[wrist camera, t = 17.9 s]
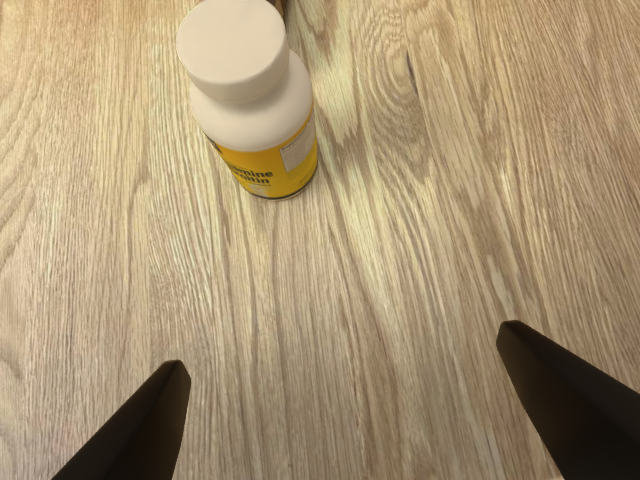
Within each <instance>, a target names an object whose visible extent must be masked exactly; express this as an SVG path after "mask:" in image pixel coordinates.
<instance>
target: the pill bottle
mask: <svg viewBox="0 0 640 480" xmlns="http://www.w3.org/2000/svg"><path fill="white" fill-rule="evenodd" d="M176 50H177V53H178V57H179V59H180V61H181V63H182V65H183V67H184V69H185V70H186V72H187V74H188V76H189V77H190V79H191V83H190V90H189V99H190V106H191V110H192V113H193V115H194V118H195V120H196V121H197V123H198V125H199V126H200V128H201V129H202V131H203V132H204V134H205V135H206V136H207V138H208V139H209V141H210V142H211V143H212V145H213V146H214V147H215V149H216V150H217V152H218V153H219V154H220V156H221V157H222V159H223V160H224V161H225V163H226V164H227V166H228V167H229V169H230V170H231V172H232V173H233V174H234V176H235V177H236V179H237V180H238V181H239V183H240V184H241V185H242V186H243V188H244V189H245V190H247V191H248V192H249V193H251V194H252V195H254V196H256V197H258V198H261V199H265V200H272V201H277V200H284V199H288V198H291V197H293V196H295V195H297V194H298V193H300V192H301V191H303V190H304V189H305V188H306V187H307V186H308V185H309V183H310V182H311V181H312V179H313V177H314V175H315V172H316V169H317V164H318V151H317V140H316V127H315V115H314V103H313V92H312V84H311V80H310V77H309V74H308V71H307V69H306V67H305V65H304V63H303V62H302V61H301V59H300V58H299V57H298V56H297V54H296V53H295V52H294V51H293V50H291V49H290V48H289V43H288V39H287V34H286V29H285V25H284V22H283V19H282V17H281V15H280V14H279V12H278V11H277V10H276V8H275V7H274V6H273V5H272V4H270V3H269V2H268V1H266V0H204V1H202V2H200V3H199V4H198V5H196V6H195V7H194V8H193V9H192V10H191V11H190V12H188V14H187V15H186V16H185V18H184V19H183V20H182V22H181V24H180V26H179V29H178V32H177V36H176Z"/></svg>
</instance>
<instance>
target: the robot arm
mask: <svg viewBox="0 0 640 480" xmlns="http://www.w3.org/2000/svg"><path fill="white" fill-rule="evenodd" d="M496 346H497V350H498V352H499V354H500V356H501V359H502V361H503V363H504V365H505V368H506V370H507V372H508V375H509V377H510V379H511V381H512V384H513V386H514V388H515V390H516V393H517V395H518V397H519V399H520V401H521V403H522V405H523V407H524V409H525V411H526V413H527V414H528V416H529V418H530V420H531V421H532V423H533V425H534V427H535V428H536V430H537V432H538V434H539V436H540V437H541V439H542V441H543V443H544V444H545V446H546V448H547V450H548V451H549V453H550V455H551V457H552V458H553V460H554V462H555V464H556V465H557V467H558V469H559V471H560V473H561V474H562V476H563V478H564V479H565V480H640V394H639V393H637V392H635V391H634V390H632V389H630V388H629V387H627V386H626V385H624V384H622V383H621V382H619V381H617V380H616V379H614V378H613V377H611V376H609V375H608V374H606V373H604V372H603V371H601V370H599V369H598V368H596V367H595V366H593V365H591V364H590V363H588V362H586V361H585V360H583V359H581V358H580V357H578V356H577V355H575V354H573V353H572V352H570V351H568V350H567V349H565V348H564V347H562V346H560V345H559V344H557V343H555V342H554V341H552V340H550V339H549V338H547V337H546V336H544V335H542V334H541V333H539V332H537V331H536V330H534V329H532V328H531V327H529V326H528V325H526V324H524V323H523V322H521V321H518V320H510V321H504V322H502V323H501V325H500V329H499V332H498V336H497V340H496ZM190 388H191V378H190V375H189V374H188V372H187V370H186V368H185V366H184V364H183V362H182V361H181V360H170V361H166V362H164V363H163V364H162V365H161V366H160V367H159V368H158V369H157V370H156V371H155V372H154V373H153V374H152V375H151V376H150V377H149V378H148V379H147V380H146V381H145V382H144V383H143V384H142V385H141V386H140V388H139V389H138V390H137V391H136V392H135V393H134V394H133V395H132V396H131V397H130V398H129V399H128V400H127V401H126V402H125V403H124V404H123V405H122V406H121V407H120V408H119V409H118V410H117V411H116V412H115V414H114V415H113V416H112V417H111V418H110V419H109V420H108V421H107V422H106V423H105V424H104V425H103V426H102V427H101V428H100V429H99V430H98V431H97V432H96V433H95V434H94V435H93V436H92V437H91V438H90V440H89V441H88V442H87V443H86V444H85V445H84V446H83V447H82V448H81V449H80V450H79V451H78V452H77V453H76V454H75V455H74V456H73V457H72V458H71V459H70V460H69V461H68V462H67V463H66V464H65V465H64V467H63V468H62V469H61V470H60V471H59V472H58V473H57V474H56V475H55V476H54V477H53V478H52V479H51V480H172V477H173V473H174V469H175V465H176V462H177V458H178V454H179V450H180V446H181V442H182V437H183V431H184V425H185V419H186V413H187V407H188V400H189V394H190Z"/></svg>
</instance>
